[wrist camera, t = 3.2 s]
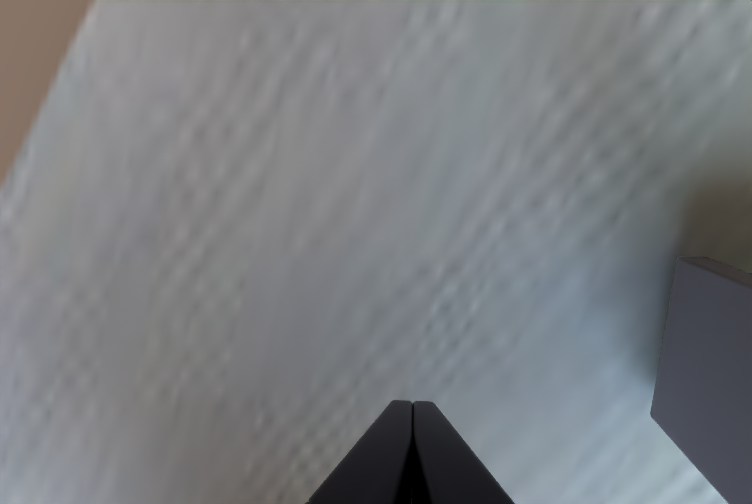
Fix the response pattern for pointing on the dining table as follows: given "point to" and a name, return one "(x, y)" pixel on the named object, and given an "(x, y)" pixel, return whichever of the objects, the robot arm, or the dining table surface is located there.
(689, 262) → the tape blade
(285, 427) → the dining table surface
